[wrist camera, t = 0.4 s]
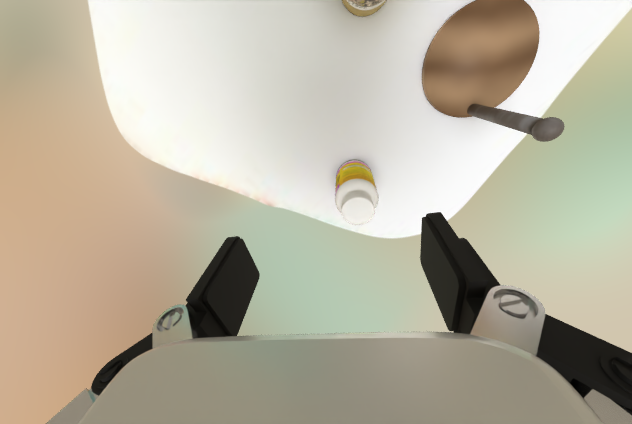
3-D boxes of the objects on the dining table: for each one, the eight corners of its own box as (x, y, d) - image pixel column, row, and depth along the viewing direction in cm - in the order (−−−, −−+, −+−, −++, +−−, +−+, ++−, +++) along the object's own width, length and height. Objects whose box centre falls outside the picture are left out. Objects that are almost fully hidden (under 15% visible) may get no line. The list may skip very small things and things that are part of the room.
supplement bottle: (334, 161, 41) (331, 192, 31) (370, 156, 40) (381, 187, 29) (338, 193, 45) (337, 232, 34) (372, 190, 44) (382, 228, 33)
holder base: (422, 15, 30) (496, -37, 16) (545, -20, 27) (770, -123, 13) (421, 125, 37) (471, 157, 23) (519, 105, 34) (645, 128, 20)
